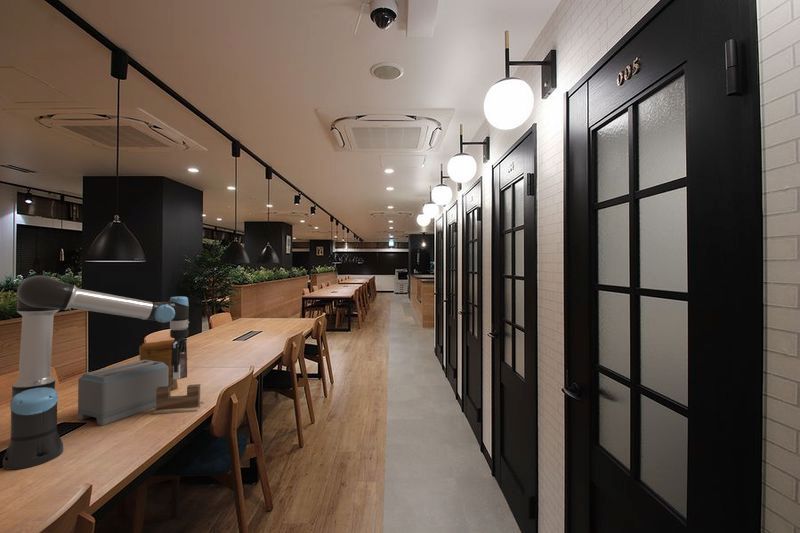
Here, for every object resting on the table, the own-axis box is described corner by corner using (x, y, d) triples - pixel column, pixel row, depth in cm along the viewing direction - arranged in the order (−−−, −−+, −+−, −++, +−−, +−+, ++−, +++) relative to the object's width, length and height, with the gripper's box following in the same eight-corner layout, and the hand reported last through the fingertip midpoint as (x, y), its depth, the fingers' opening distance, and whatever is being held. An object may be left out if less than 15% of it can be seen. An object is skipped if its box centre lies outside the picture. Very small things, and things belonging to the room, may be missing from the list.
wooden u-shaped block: (197, 411, 171) (197, 388, 171) (151, 414, 166) (152, 391, 167) (203, 403, 181) (203, 381, 181) (160, 406, 176) (160, 384, 176)
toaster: (176, 400, 185) (176, 360, 185) (101, 427, 154) (102, 379, 154) (152, 395, 192) (152, 357, 192) (76, 419, 161) (76, 374, 161)
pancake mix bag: (181, 390, 200) (181, 339, 200) (138, 396, 190) (139, 343, 190) (180, 386, 205) (181, 337, 205) (139, 392, 195) (140, 341, 195)
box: (171, 378, 173) (171, 352, 173) (180, 375, 177) (180, 351, 177) (178, 379, 170) (178, 354, 170) (187, 377, 174) (187, 352, 174)
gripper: (180, 332, 165) (180, 382, 165) (194, 325, 184) (194, 370, 184) (162, 332, 163) (162, 383, 163) (177, 325, 182) (177, 371, 183)
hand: (179, 376), depth 174 cm, fingers closed on box, 7 cm apart
